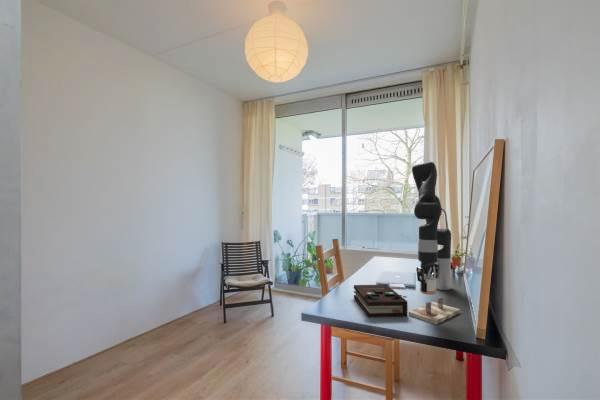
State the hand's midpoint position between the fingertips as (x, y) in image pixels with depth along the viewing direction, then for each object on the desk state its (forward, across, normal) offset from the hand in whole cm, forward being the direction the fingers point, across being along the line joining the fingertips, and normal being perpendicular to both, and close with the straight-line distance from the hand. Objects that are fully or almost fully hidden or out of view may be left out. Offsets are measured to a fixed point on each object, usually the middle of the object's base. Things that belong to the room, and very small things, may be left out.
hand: (428, 290), depth 121 cm
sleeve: (+1, 0, 0) cm, 1 cm away
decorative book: (+12, +6, -21) cm, 25 cm away
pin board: (+11, -5, 0) cm, 12 cm away
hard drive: (+12, -29, -35) cm, 47 cm away
